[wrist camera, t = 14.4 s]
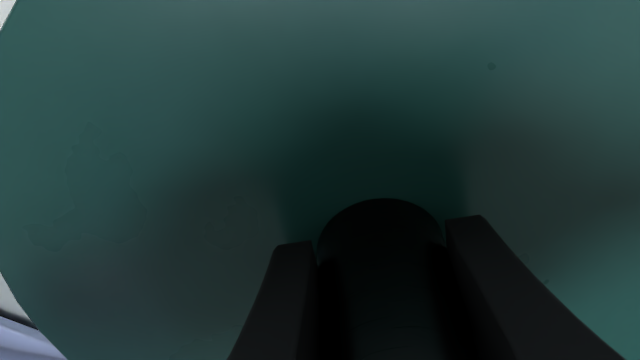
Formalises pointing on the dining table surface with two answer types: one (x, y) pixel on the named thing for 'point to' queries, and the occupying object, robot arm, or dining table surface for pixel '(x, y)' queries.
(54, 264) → the tin lid
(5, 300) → the dining table surface
